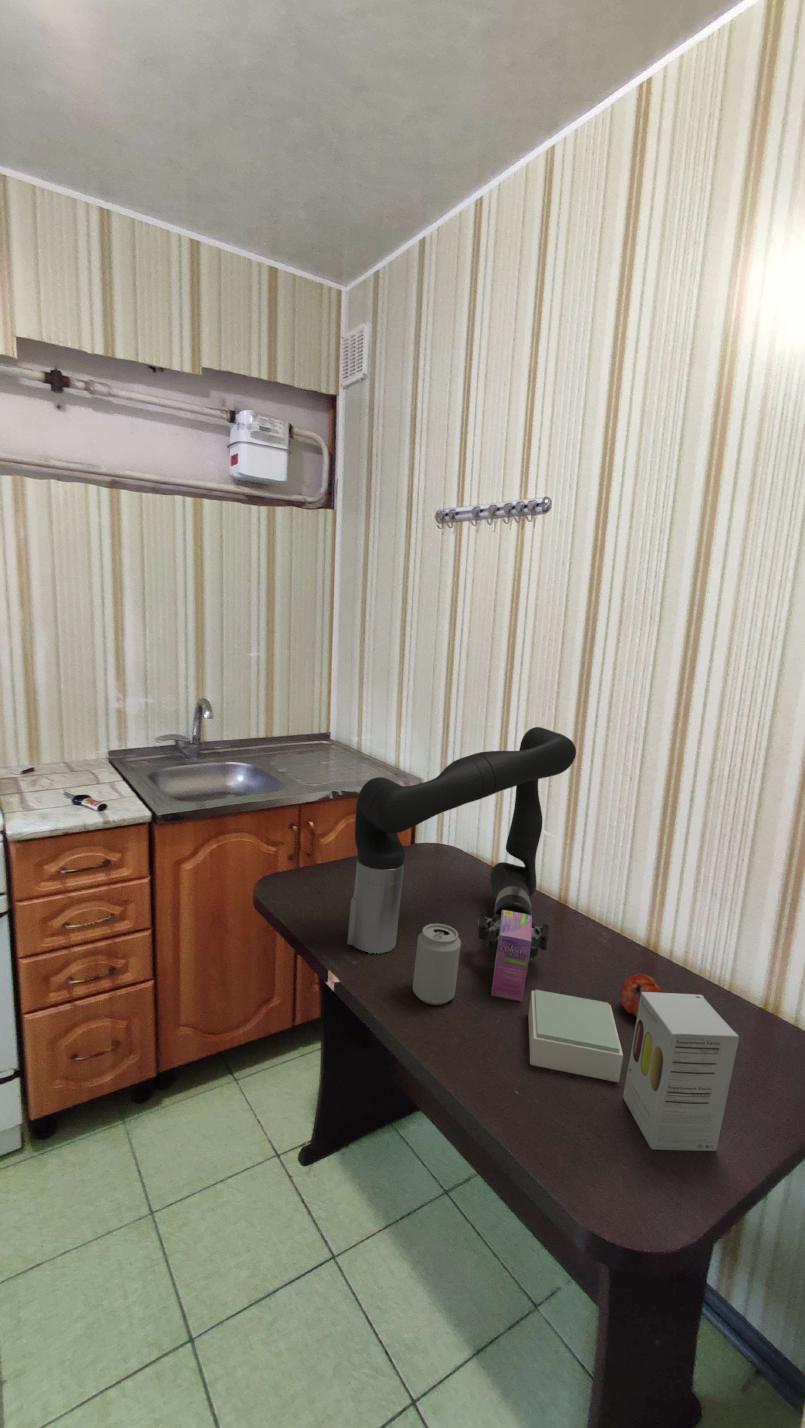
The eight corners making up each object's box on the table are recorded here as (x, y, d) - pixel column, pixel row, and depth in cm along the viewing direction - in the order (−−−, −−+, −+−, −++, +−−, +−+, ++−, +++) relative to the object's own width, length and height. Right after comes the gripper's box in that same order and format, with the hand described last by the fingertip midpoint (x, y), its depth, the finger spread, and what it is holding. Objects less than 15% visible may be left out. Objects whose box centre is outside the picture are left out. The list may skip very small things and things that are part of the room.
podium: (530, 1064, 98) (534, 1034, 97) (528, 1014, 111) (532, 987, 110) (618, 1082, 96) (623, 1051, 95) (606, 1028, 109) (611, 1001, 108)
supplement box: (620, 1096, 93) (638, 989, 90) (681, 1098, 94) (701, 991, 91) (651, 1152, 84) (672, 1033, 81) (719, 1153, 85) (741, 1035, 82)
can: (459, 989, 116) (466, 927, 114) (448, 1012, 109) (456, 946, 107) (419, 978, 118) (426, 917, 117) (406, 1000, 111) (413, 935, 110)
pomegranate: (625, 1009, 119) (602, 989, 113) (649, 977, 120) (627, 956, 114) (657, 1037, 113) (635, 1018, 107) (682, 1003, 114) (661, 982, 108)
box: (523, 1002, 114) (531, 940, 112) (490, 996, 115) (498, 934, 113) (524, 972, 124) (532, 914, 122) (494, 966, 125) (501, 909, 123)
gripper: (480, 888, 135) (475, 924, 119) (550, 899, 133) (555, 937, 116) (476, 921, 136) (471, 962, 120) (545, 933, 134) (550, 976, 118)
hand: (512, 949), depth 118 cm, fingers open, 6 cm apart
